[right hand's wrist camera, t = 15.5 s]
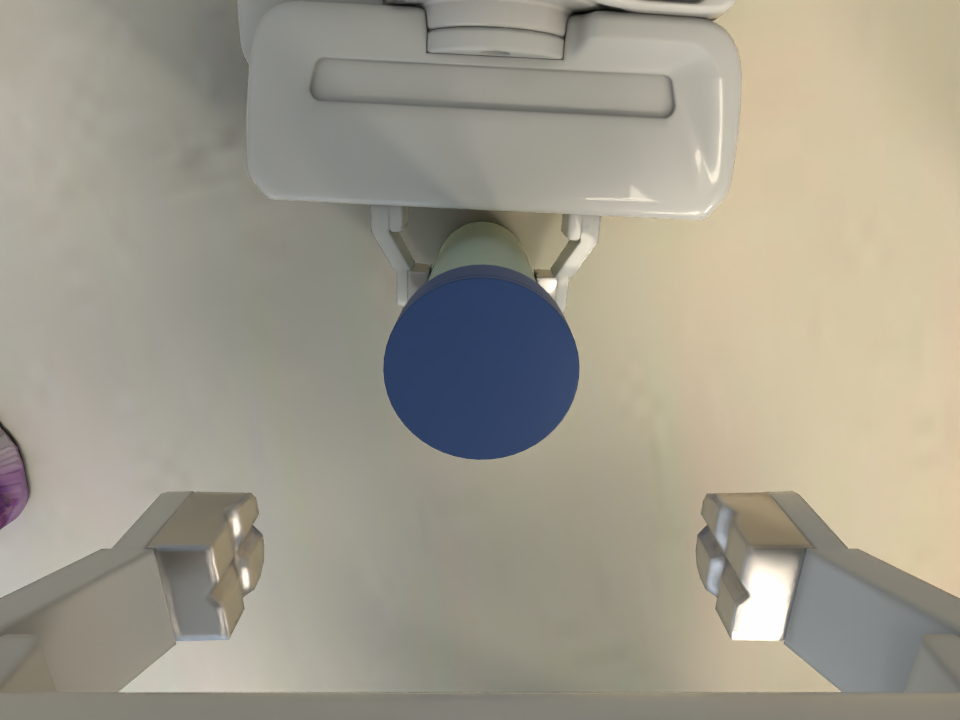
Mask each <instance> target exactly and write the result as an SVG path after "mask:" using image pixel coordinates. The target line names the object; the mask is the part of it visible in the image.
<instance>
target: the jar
mask: <svg viewBox="0 0 960 720" xmlns="http://www.w3.org/2000/svg"><path fill="white" fill-rule="evenodd" d="M481 264H486V265H496V266H501V267H505V268H509V269H512V270H514V271H517V272H520V273H522V274H524V275H525V276H527V277H529V278H531V279H532V280H534V281H535V282H536V280H535V278H534V275H533V272H532V270H531V267H530V264H529V262H528V259H527V256H526V254H525V251H524V249H523V246H522V245H521V243H520V241H519V240H518V239H517V237H516V236H515V235H514V234H513V233H512V232H510V231H509V230H508V229H506V228H504V227H503V226H500V225H498V224H495V223H491V222H474V223H469V224H466V225H464V226H462V227H460V228H458V229H457V230H455V231H454V232H453V233H452V234H451V235H450V236H449V237H448V238H447V239H446V240H445V242H444V243H443V245H442V247H441V249H440V252H439V254H438V257H437V259H436V262H435V265H434V267H433V270H432V272H431V275H430V277H429V280H431V279H432V278H434V277H436V276H437V275H439V274H441V273H444V272H446V271H448V270H451V269H455V268H458V267H462V266H468V265H481ZM429 280H428V281H429Z"/></svg>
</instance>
